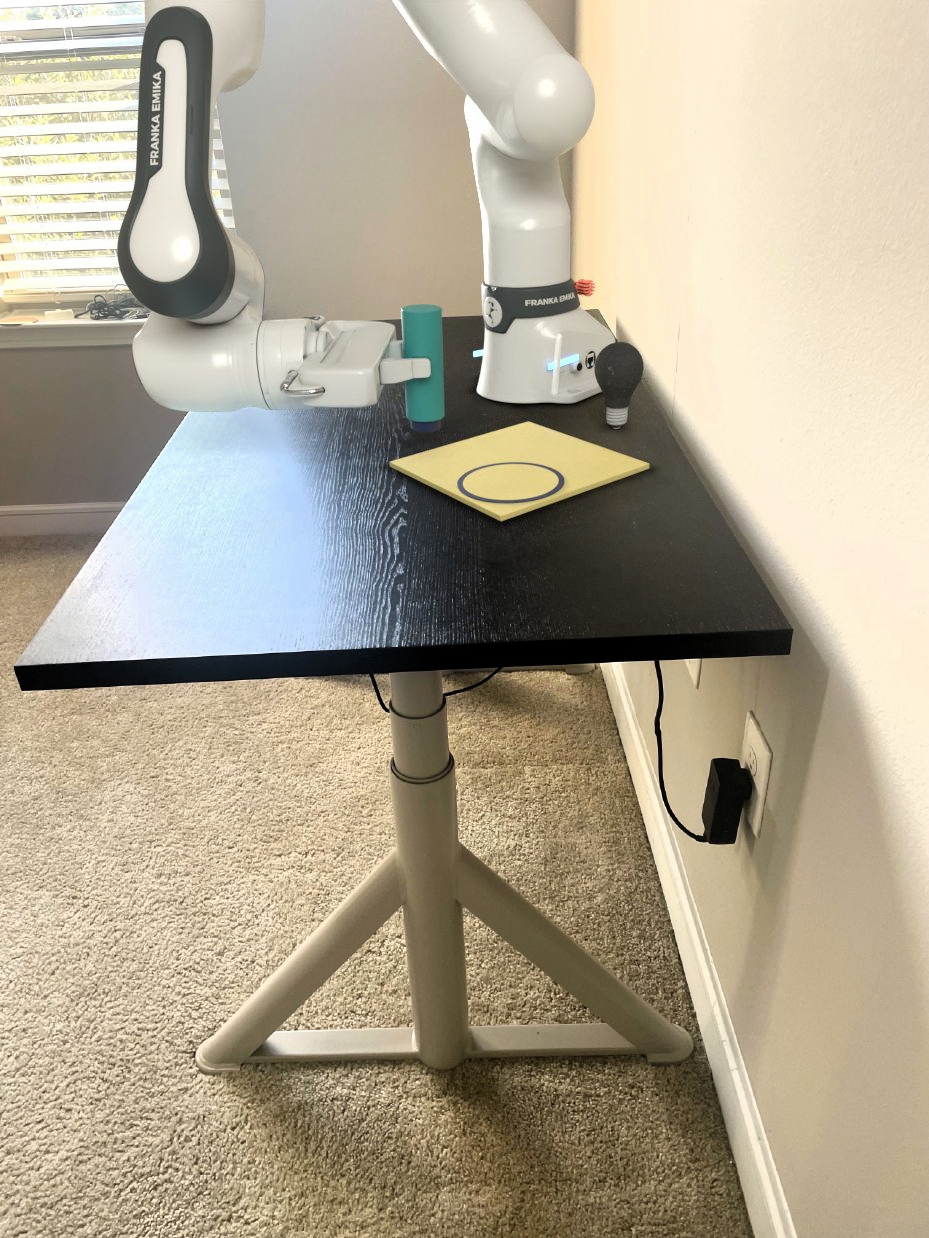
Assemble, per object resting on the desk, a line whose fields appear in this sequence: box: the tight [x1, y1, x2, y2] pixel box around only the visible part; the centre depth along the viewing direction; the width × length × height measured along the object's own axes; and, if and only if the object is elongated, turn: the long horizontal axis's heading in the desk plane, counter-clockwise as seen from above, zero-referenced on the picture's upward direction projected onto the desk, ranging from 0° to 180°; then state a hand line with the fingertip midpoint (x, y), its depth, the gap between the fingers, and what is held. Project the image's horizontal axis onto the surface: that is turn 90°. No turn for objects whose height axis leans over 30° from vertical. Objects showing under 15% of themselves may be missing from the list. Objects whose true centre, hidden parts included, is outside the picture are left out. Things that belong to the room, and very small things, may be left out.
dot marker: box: [400, 303, 446, 433], centre depth 87 cm, size 4×4×12 cm
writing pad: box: [388, 421, 650, 522], centre depth 93 cm, size 20×20×1 cm
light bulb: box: [594, 341, 644, 430], centre depth 100 cm, size 6×6×10 cm
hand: (432, 359), depth 87 cm, fingers closed on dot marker, 4 cm apart
